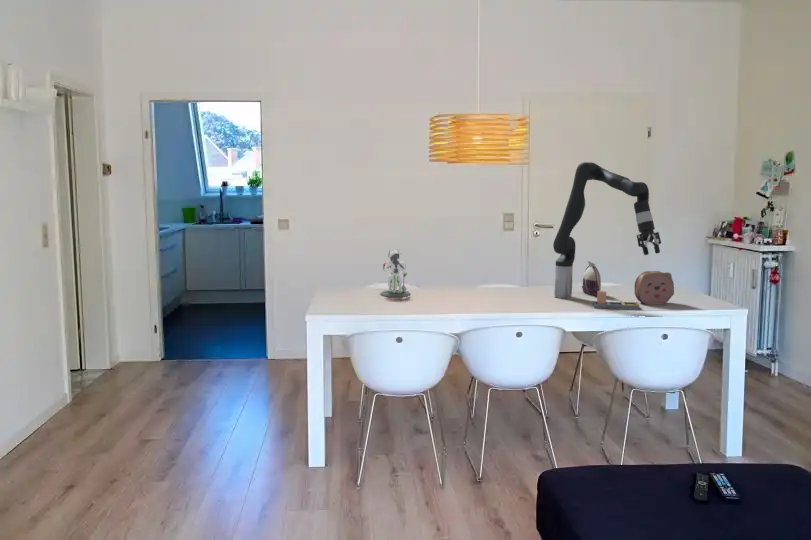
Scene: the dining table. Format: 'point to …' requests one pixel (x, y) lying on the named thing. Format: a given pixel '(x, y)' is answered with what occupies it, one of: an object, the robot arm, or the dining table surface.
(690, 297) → the dining table surface
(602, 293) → the block
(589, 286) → the pouch
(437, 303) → the dining table surface
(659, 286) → the face sculpture
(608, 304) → the rail
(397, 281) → the figurine
